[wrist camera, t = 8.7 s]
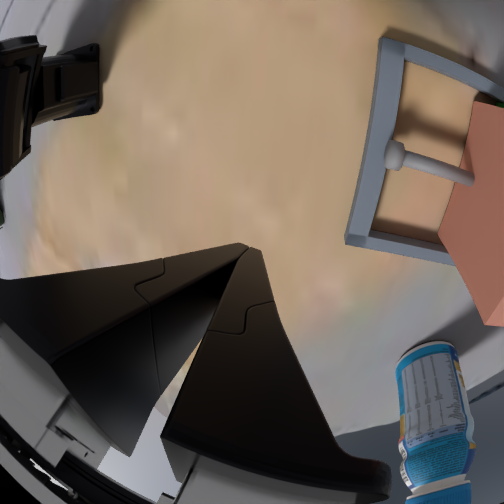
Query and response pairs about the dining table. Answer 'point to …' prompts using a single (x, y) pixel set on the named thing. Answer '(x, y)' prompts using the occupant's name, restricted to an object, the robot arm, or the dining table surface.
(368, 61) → the dining table surface
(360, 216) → the vise body
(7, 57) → the robot arm
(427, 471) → the beverage bottle
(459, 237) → the sliding jaw
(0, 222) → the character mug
